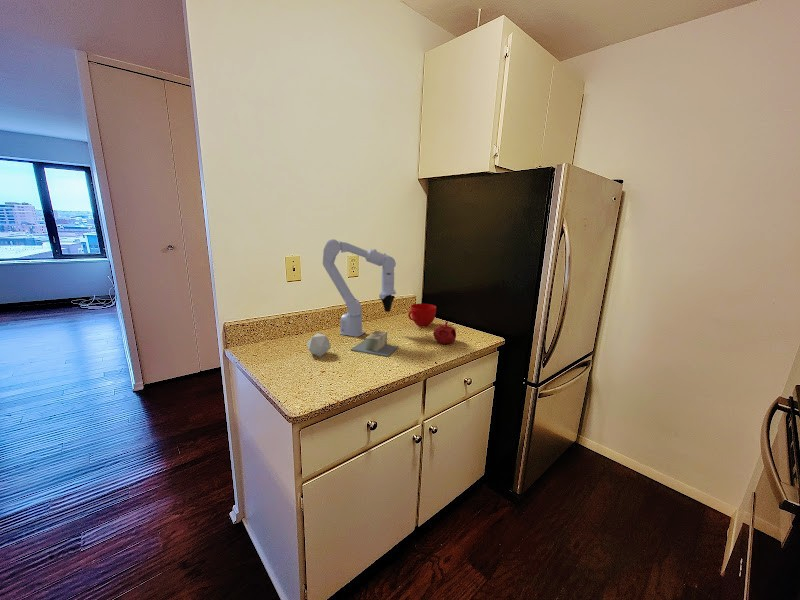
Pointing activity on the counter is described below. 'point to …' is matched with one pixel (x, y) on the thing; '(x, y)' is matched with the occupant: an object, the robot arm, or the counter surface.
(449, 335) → the pomegranate
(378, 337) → the block
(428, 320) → the ceramic cup
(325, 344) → the die
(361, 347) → the mat
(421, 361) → the counter surface
